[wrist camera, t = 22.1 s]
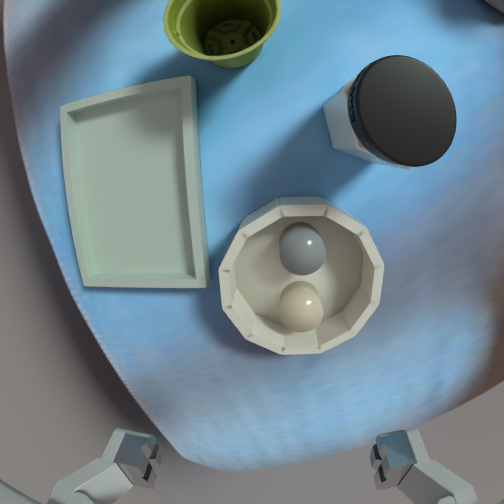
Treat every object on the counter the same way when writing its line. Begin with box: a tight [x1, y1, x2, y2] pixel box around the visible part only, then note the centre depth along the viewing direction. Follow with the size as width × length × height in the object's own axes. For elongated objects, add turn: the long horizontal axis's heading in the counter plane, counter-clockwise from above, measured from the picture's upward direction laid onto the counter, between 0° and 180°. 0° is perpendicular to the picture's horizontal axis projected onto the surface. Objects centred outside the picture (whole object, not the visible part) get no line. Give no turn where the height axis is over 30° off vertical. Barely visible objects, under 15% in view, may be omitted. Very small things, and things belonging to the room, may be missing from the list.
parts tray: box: [60, 75, 211, 288], centre depth 31 cm, size 22×16×2 cm
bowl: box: [219, 196, 384, 355], centre depth 31 cm, size 16×16×5 cm
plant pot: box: [163, 0, 281, 68], centre depth 22 cm, size 9×9×9 cm
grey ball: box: [279, 222, 326, 276], centre depth 30 cm, size 4×4×4 cm
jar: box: [323, 55, 456, 169], centre depth 22 cm, size 9×8×12 cm
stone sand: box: [280, 281, 323, 333], centre depth 32 cm, size 4×4×4 cm
